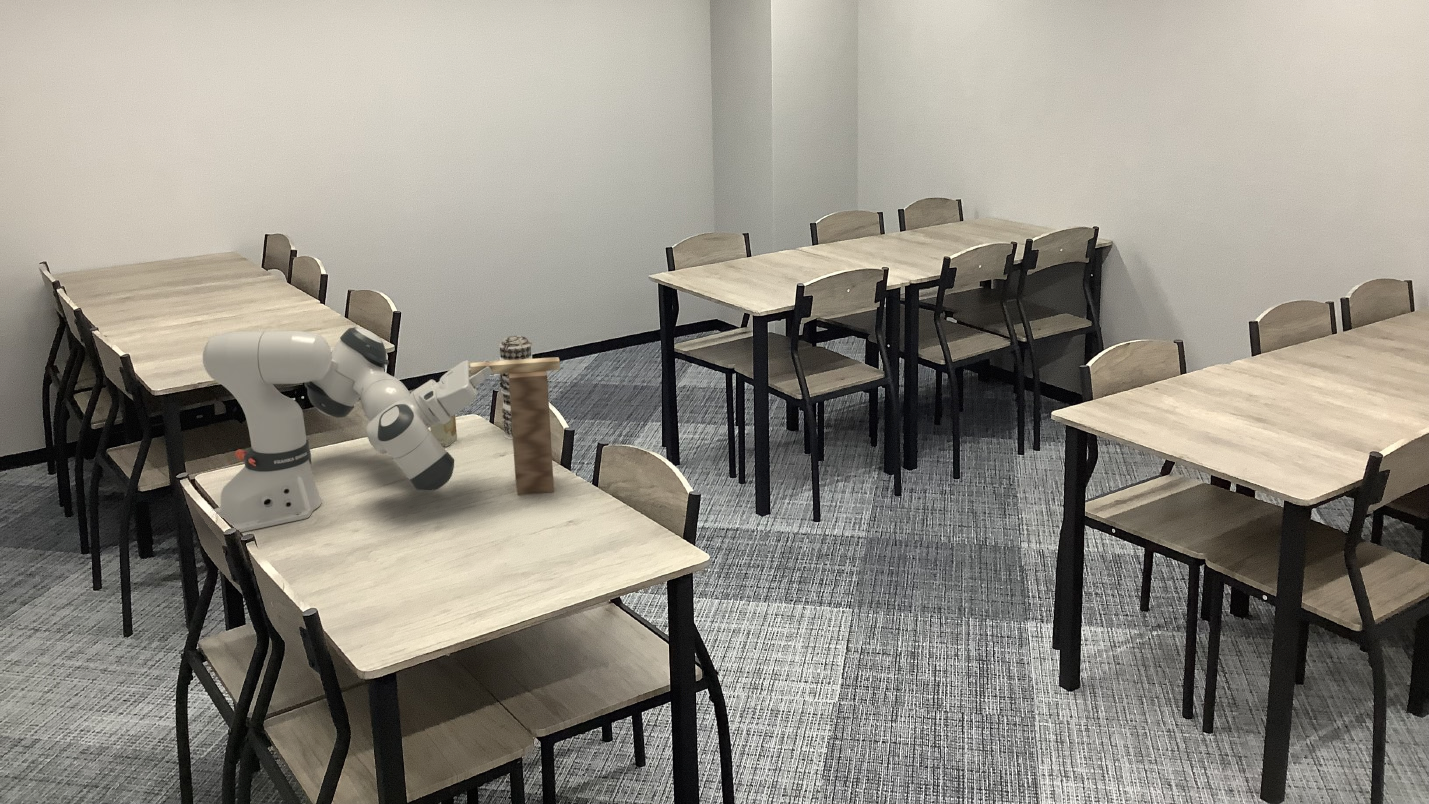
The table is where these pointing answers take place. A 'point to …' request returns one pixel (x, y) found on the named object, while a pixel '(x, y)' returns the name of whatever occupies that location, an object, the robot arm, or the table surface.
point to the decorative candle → (508, 351)
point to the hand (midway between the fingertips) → (490, 365)
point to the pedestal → (531, 432)
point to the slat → (517, 365)
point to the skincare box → (445, 432)
